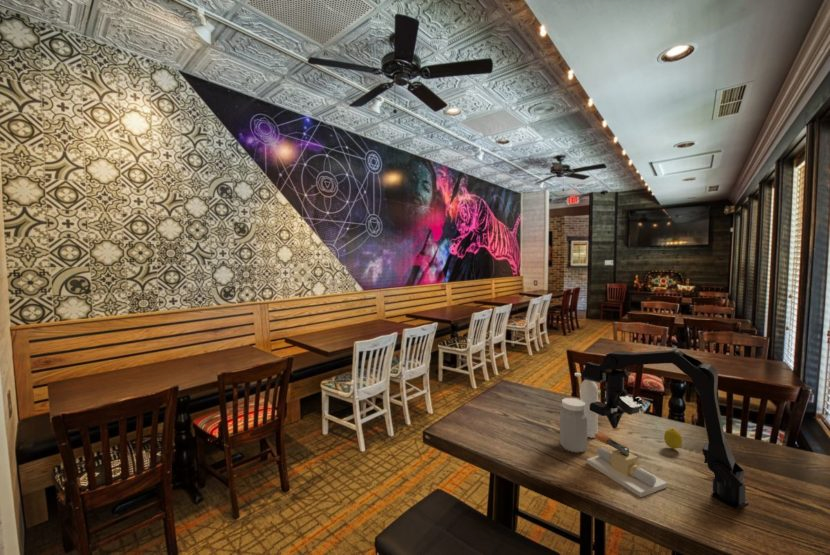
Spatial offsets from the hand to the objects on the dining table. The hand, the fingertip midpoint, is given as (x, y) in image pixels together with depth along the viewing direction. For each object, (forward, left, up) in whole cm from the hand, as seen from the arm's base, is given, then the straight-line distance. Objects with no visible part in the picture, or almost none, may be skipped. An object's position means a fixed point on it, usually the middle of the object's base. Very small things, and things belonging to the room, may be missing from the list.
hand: (614, 428), depth 129 cm
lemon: (-5, -25, -11) cm, 28 cm away
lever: (-4, +6, -4) cm, 8 cm away
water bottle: (+17, -5, -11) cm, 21 cm away
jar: (+11, +8, -11) cm, 18 cm away
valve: (-9, +6, -11) cm, 15 cm away
